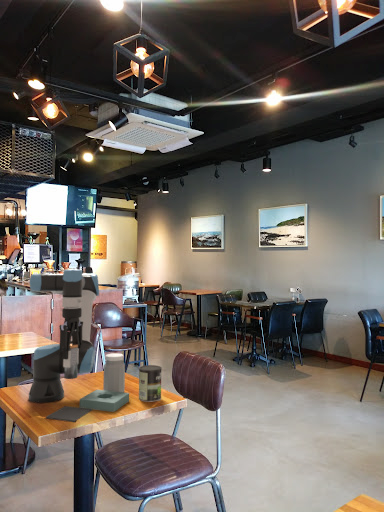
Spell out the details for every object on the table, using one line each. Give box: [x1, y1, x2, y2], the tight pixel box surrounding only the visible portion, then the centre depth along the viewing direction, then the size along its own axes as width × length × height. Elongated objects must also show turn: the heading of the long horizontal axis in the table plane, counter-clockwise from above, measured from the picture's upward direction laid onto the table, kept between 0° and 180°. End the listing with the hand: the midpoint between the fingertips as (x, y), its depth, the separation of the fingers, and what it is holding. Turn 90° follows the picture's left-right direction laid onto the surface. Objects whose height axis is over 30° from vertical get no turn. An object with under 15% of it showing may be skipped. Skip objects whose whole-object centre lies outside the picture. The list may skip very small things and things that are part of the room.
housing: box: [79, 389, 130, 413], centre depth 174 cm, size 16×14×4 cm
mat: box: [45, 405, 94, 423], centre depth 162 cm, size 13×13×1 cm
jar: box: [102, 352, 126, 393], centre depth 190 cm, size 10×10×18 cm
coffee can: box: [138, 364, 163, 403], centre depth 183 cm, size 10×10×14 cm
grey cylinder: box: [63, 344, 78, 380], centre depth 163 cm, size 5×5×13 cm
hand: (70, 365), depth 163 cm, fingers closed on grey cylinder, 5 cm apart
